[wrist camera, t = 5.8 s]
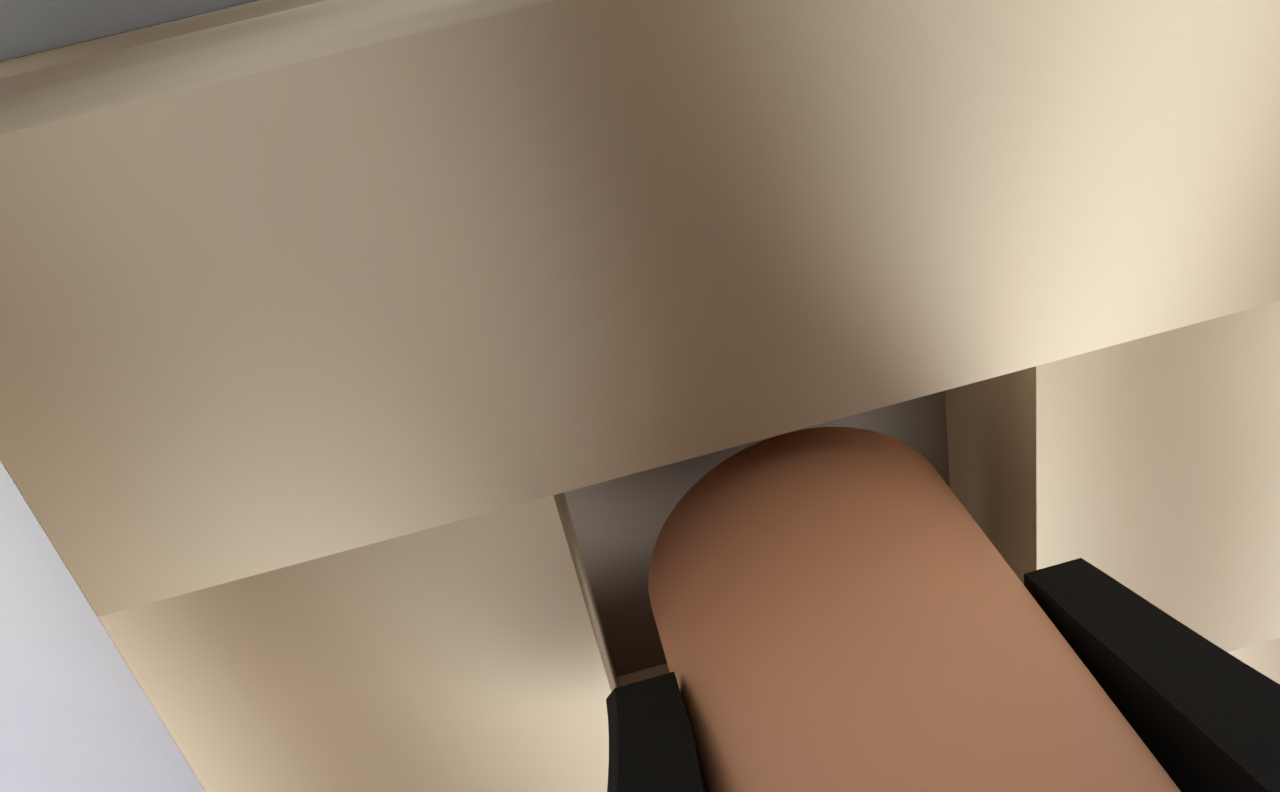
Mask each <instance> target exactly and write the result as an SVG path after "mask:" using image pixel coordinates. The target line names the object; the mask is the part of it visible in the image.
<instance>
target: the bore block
mask: <svg viewBox="0 0 1280 792" xmlns="http://www.w3.org/2000/svg"><path fill="white" fill-rule="evenodd" d="M828 426H829V427H852V428H859V429H866V430H871V431H874V432H878V433H881V434H884V435H888V436H890V437H892V438H894V439H897V440H899V441H901V442H903V443H905V444H907V445H908V446H910V447H911V448H913V449H914V450H916V451H917V452H919V453H920V454H921V455H922V456H923V457H924V458H926V459H927V460H928V461H929V462H930V463H931V464H932V465H933V466H934V468H935V469H936V470H937V472H938V473H939V474H940V476H941V477H942V478H943V479H944V481H945V482H946V483H947V485H948V486H949V487H950V489H951V490H952V491H953V493H954V494H955V495H956V497H957V498H958V499H959V500H960V502H961V503H962V504H963V506H964V507H965V508H966V510H967V511H968V512H969V514H970V515H971V516H972V518H973V519H974V520H975V522H976V523H977V524H978V525H979V527H980V528H981V529H982V531H983V532H984V533H985V535H986V536H987V537H988V539H989V540H990V541H991V543H992V544H993V545H994V546H995V548H996V549H997V550H998V552H999V553H1000V554H1001V556H1002V557H1003V558H1004V560H1005V561H1006V562H1007V564H1008V565H1009V566H1010V567H1011V569H1012V570H1013V571H1014V573H1015V574H1016V575H1017V577H1018V578H1019V579H1020V581H1021V582H1022V583H1023V585H1024V574H1025V573H1028V572H1032V571H1035V570H1039V569H1043V568H1046V567H1050V566H1053V565H1057V564H1061V563H1064V562H1068V561H1071V560H1075V559H1078V558H1082V559H1084V560H1085V561H1087V562H1089V563H1090V564H1092V565H1093V566H1095V567H1096V568H1098V569H1100V570H1101V571H1103V572H1104V573H1106V574H1107V575H1109V576H1110V577H1112V578H1114V579H1115V580H1117V581H1118V582H1120V583H1121V584H1123V585H1124V586H1126V587H1127V588H1129V589H1130V590H1132V591H1133V592H1135V593H1136V594H1138V595H1140V596H1141V597H1143V598H1144V599H1146V600H1147V601H1149V602H1150V603H1152V604H1153V605H1155V606H1156V607H1158V608H1159V609H1161V610H1162V611H1164V612H1165V613H1167V614H1169V615H1170V616H1172V617H1173V618H1175V619H1176V620H1178V621H1179V622H1181V623H1182V624H1184V625H1186V626H1187V627H1189V628H1190V629H1192V630H1193V631H1195V632H1196V633H1198V634H1200V635H1201V636H1203V637H1204V638H1206V639H1207V640H1209V641H1210V642H1212V643H1214V644H1215V645H1217V646H1218V647H1220V648H1221V649H1223V650H1225V651H1226V652H1228V653H1229V654H1231V655H1233V656H1234V657H1236V658H1237V659H1239V660H1241V661H1242V662H1244V663H1245V664H1247V665H1249V666H1250V667H1252V668H1254V669H1255V670H1257V671H1259V672H1260V673H1262V674H1264V675H1265V676H1267V677H1269V678H1270V679H1272V680H1273V681H1275V682H1277V683H1278V684H1280V0H258V1H254V2H250V3H246V4H242V5H238V6H233V7H229V8H225V9H221V10H217V11H212V12H208V13H204V14H200V15H196V16H192V17H187V18H183V19H179V20H175V21H171V22H166V23H162V24H158V25H154V26H150V27H146V28H141V29H137V30H133V31H129V32H125V33H120V34H116V35H112V36H108V37H104V38H100V39H95V40H91V41H87V42H83V43H79V44H74V45H70V46H66V47H62V48H58V49H54V50H49V51H45V52H41V53H37V54H33V55H28V56H24V57H20V58H16V59H12V60H8V61H3V62H0V461H1V462H2V464H3V465H4V467H5V469H6V470H7V472H8V474H9V475H10V477H11V478H12V480H13V482H14V483H15V485H16V486H17V488H18V490H19V491H20V493H21V495H22V496H23V498H24V499H25V501H26V503H27V504H28V506H29V507H30V509H31V511H32V512H33V514H34V515H35V517H36V519H37V520H38V522H39V524H40V525H41V527H42V528H43V530H44V532H45V533H46V535H47V536H48V538H49V540H50V541H51V543H52V545H53V546H54V548H55V549H56V551H57V553H58V554H59V556H60V557H61V559H62V561H63V562H64V564H65V566H66V567H67V569H68V570H69V572H70V574H71V575H72V577H73V578H74V580H75V582H76V583H77V585H78V587H79V588H80V590H81V591H82V593H83V595H84V596H85V598H86V599H87V601H88V603H89V604H90V606H91V608H92V609H93V611H94V612H95V614H96V616H97V617H98V619H99V620H100V622H101V624H102V625H103V627H104V629H105V630H106V632H107V633H108V635H109V637H110V638H111V640H112V641H113V643H114V645H115V646H116V648H117V650H118V651H119V653H120V654H121V656H122V658H123V659H124V661H125V662H126V664H127V666H128V667H129V669H130V671H131V672H132V674H133V675H134V677H135V679H136V680H137V682H138V683H139V685H140V687H141V688H142V690H143V691H144V693H145V695H146V696H147V698H148V700H149V701H150V703H151V704H152V706H153V708H154V709H155V711H156V712H157V714H158V716H159V717H160V719H161V721H162V722H163V724H164V725H165V727H166V729H167V730H168V732H169V733H170V735H171V737H172V738H173V740H174V742H175V743H176V745H177V746H178V748H179V750H180V751H181V753H182V754H183V756H184V758H185V759H186V761H187V763H188V764H189V766H190V767H191V769H192V771H193V772H194V774H195V775H196V777H197V779H198V780H199V782H200V784H201V785H202V787H203V788H204V790H205V792H607V786H608V766H609V730H608V714H607V704H606V699H607V697H608V696H609V695H610V693H611V692H612V691H613V690H614V688H617V687H620V686H624V685H627V684H631V683H634V682H638V681H642V680H645V679H649V678H652V677H656V676H659V675H663V674H667V673H670V671H669V668H668V664H667V661H666V657H665V654H664V650H663V647H662V643H661V640H660V636H659V633H658V629H657V626H656V622H655V618H654V615H653V611H652V608H651V603H650V597H649V591H648V584H649V568H650V562H651V556H652V553H653V550H654V547H655V544H656V540H657V538H658V536H659V534H660V532H661V530H662V527H663V525H664V523H665V521H666V520H667V518H668V517H669V515H670V514H671V512H672V511H673V509H674V508H675V506H676V505H677V503H678V502H679V501H680V500H681V499H682V498H683V496H684V495H685V494H686V493H687V492H688V490H689V489H690V488H691V487H692V486H693V485H694V484H696V483H697V482H698V481H699V480H700V479H701V478H702V477H703V476H704V475H705V474H706V473H708V472H709V471H710V470H712V469H713V468H714V467H716V466H717V465H719V464H720V463H721V462H723V461H724V460H726V459H727V458H729V457H731V456H732V455H734V454H736V453H738V452H739V451H741V450H743V449H745V448H747V447H749V446H752V445H754V444H756V443H758V442H760V441H763V440H765V439H768V438H771V437H775V436H778V435H781V434H784V433H788V432H792V431H797V430H802V429H807V428H818V427H828Z"/></svg>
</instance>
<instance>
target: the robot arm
mask: <svg viewBox="0 0 1280 792" xmlns="http://www.w3.org/2000/svg"><path fill="white" fill-rule="evenodd" d="M1024 586H1025V587H1026V589H1027V590H1028V591H1029V592H1030V594H1031V595H1032V596H1033V598H1034V599H1035V600H1036V602H1037V603H1038V604H1039V606H1040V607H1041V608H1042V610H1043V611H1044V612H1045V613H1046V615H1047V616H1048V617H1049V619H1050V620H1051V621H1052V623H1053V624H1054V625H1055V627H1056V628H1057V629H1058V631H1059V632H1060V633H1061V635H1062V636H1063V637H1064V638H1065V640H1066V641H1067V642H1068V644H1069V645H1070V646H1071V648H1072V649H1073V650H1074V652H1075V653H1076V654H1077V656H1078V657H1079V658H1080V659H1081V661H1082V662H1083V663H1084V665H1085V666H1086V667H1087V669H1088V670H1089V671H1090V673H1091V674H1092V675H1093V677H1094V678H1095V679H1096V681H1097V682H1098V683H1099V684H1100V686H1101V687H1102V688H1103V690H1104V691H1105V692H1106V694H1107V695H1108V696H1109V698H1110V699H1111V700H1112V702H1113V703H1114V704H1115V705H1116V707H1117V708H1118V709H1119V711H1120V712H1121V713H1122V715H1123V716H1124V717H1125V719H1126V720H1127V721H1128V723H1129V724H1130V725H1131V726H1132V728H1133V729H1134V730H1135V732H1136V733H1137V734H1138V736H1139V737H1140V738H1141V740H1142V741H1143V742H1144V744H1145V745H1146V746H1147V748H1148V749H1149V750H1150V751H1151V753H1152V754H1153V755H1154V757H1155V758H1156V759H1157V761H1158V762H1159V763H1160V765H1161V766H1162V767H1163V769H1164V770H1165V771H1166V772H1167V774H1168V775H1169V776H1170V778H1171V779H1172V780H1173V782H1174V783H1175V784H1176V786H1177V787H1178V788H1179V790H1180V791H1181V792H1280V684H1278V683H1277V682H1275V681H1273V680H1272V679H1270V678H1269V677H1267V676H1265V675H1264V674H1262V673H1260V672H1259V671H1257V670H1255V669H1254V668H1252V667H1250V666H1249V665H1247V664H1245V663H1244V662H1242V661H1241V660H1239V659H1237V658H1236V657H1234V656H1233V655H1231V654H1229V653H1228V652H1226V651H1225V650H1223V649H1221V648H1220V647H1218V646H1217V645H1215V644H1214V643H1212V642H1210V641H1209V640H1207V639H1206V638H1204V637H1203V636H1201V635H1200V634H1198V633H1196V632H1195V631H1193V630H1192V629H1190V628H1189V627H1187V626H1186V625H1184V624H1182V623H1181V622H1179V621H1178V620H1176V619H1175V618H1173V617H1172V616H1170V615H1169V614H1167V613H1165V612H1164V611H1162V610H1161V609H1159V608H1158V607H1156V606H1155V605H1153V604H1152V603H1150V602H1149V601H1147V600H1146V599H1144V598H1143V597H1141V596H1140V595H1138V594H1136V593H1135V592H1133V591H1132V590H1130V589H1129V588H1127V587H1126V586H1124V585H1123V584H1121V583H1120V582H1118V581H1117V580H1115V579H1114V578H1112V577H1110V576H1109V575H1107V574H1106V573H1104V572H1103V571H1101V570H1100V569H1098V568H1096V567H1095V566H1093V565H1092V564H1090V563H1089V562H1087V561H1085V560H1084V559H1082V558H1078V559H1075V560H1071V561H1068V562H1064V563H1061V564H1057V565H1053V566H1050V567H1046V568H1043V569H1039V570H1035V571H1032V572H1028V573H1025V574H1024ZM606 704H607V714H608V730H609V766H608V786H607V792H706V788H705V783H704V778H703V773H702V769H701V764H700V760H699V756H698V752H697V748H696V744H695V740H694V736H693V732H692V729H691V725H690V722H689V719H688V715H687V712H686V709H685V705H684V702H683V699H682V696H681V692H680V689H679V686H678V683H677V679H676V676H675V673H674V672H670V673H667V674H663V675H659V676H656V677H652V678H649V679H645V680H642V681H638V682H634V683H631V684H627V685H624V686H620V687H617V688H614V690H613V691H612V692H611V693H610V695H609V696H608V697H607V699H606Z"/></svg>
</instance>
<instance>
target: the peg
mask: <svg viewBox="0 0 1280 792" xmlns="http://www.w3.org/2000/svg"><path fill="white" fill-rule="evenodd" d="M648 591H649V597H650V603H651V608H652V611H653V615H654V618H655V622H656V626H657V629H658V633H659V636H660V640H661V643H662V647H663V650H664V654H665V657H666V661H667V664H668V668H669V671H670V672H674V673H675V676H676V679H677V683H678V686H679V689H680V692H681V696H682V699H683V702H684V705H685V709H686V712H687V715H688V719H689V722H690V725H691V729H692V732H693V736H694V740H695V744H696V748H697V752H698V756H699V760H700V764H701V769H702V773H703V778H704V783H705V788H706V792H1181V791H1180V790H1179V788H1178V787H1177V786H1176V784H1175V783H1174V782H1173V780H1172V779H1171V778H1170V776H1169V775H1168V774H1167V772H1166V771H1165V770H1164V769H1163V767H1162V766H1161V765H1160V763H1159V762H1158V761H1157V759H1156V758H1155V757H1154V755H1153V754H1152V753H1151V751H1150V750H1149V749H1148V748H1147V746H1146V745H1145V744H1144V742H1143V741H1142V740H1141V738H1140V737H1139V736H1138V734H1137V733H1136V732H1135V730H1134V729H1133V728H1132V726H1131V725H1130V724H1129V723H1128V721H1127V720H1126V719H1125V717H1124V716H1123V715H1122V713H1121V712H1120V711H1119V709H1118V708H1117V707H1116V705H1115V704H1114V703H1113V702H1112V700H1111V699H1110V698H1109V696H1108V695H1107V694H1106V692H1105V691H1104V690H1103V688H1102V687H1101V686H1100V684H1099V683H1098V682H1097V681H1096V679H1095V678H1094V677H1093V675H1092V674H1091V673H1090V671H1089V670H1088V669H1087V667H1086V666H1085V665H1084V663H1083V662H1082V661H1081V659H1080V658H1079V657H1078V656H1077V654H1076V653H1075V652H1074V650H1073V649H1072V648H1071V646H1070V645H1069V644H1068V642H1067V641H1066V640H1065V638H1064V637H1063V636H1062V635H1061V633H1060V632H1059V631H1058V629H1057V628H1056V627H1055V625H1054V624H1053V623H1052V621H1051V620H1050V619H1049V617H1048V616H1047V615H1046V613H1045V612H1044V611H1043V610H1042V608H1041V607H1040V606H1039V604H1038V603H1037V602H1036V600H1035V599H1034V598H1033V596H1032V595H1031V594H1030V592H1029V591H1028V590H1027V589H1026V587H1025V586H1024V585H1023V583H1022V582H1021V581H1020V579H1019V578H1018V577H1017V575H1016V574H1015V573H1014V571H1013V570H1012V569H1011V567H1010V566H1009V565H1008V564H1007V562H1006V561H1005V560H1004V558H1003V557H1002V556H1001V554H1000V553H999V552H998V550H997V549H996V548H995V546H994V545H993V544H992V543H991V541H990V540H989V539H988V537H987V536H986V535H985V533H984V532H983V531H982V529H981V528H980V527H979V525H978V524H977V523H976V522H975V520H974V519H973V518H972V516H971V515H970V514H969V512H968V511H967V510H966V508H965V507H964V506H963V504H962V503H961V502H960V500H959V499H958V498H957V497H956V495H955V494H954V493H953V491H952V490H951V489H950V487H949V486H948V485H947V483H946V482H945V481H944V479H943V478H942V477H941V476H940V474H939V473H938V472H937V470H936V469H935V468H934V466H933V465H932V464H931V463H930V462H929V461H928V460H927V459H926V458H924V457H923V456H922V455H921V454H920V453H919V452H917V451H916V450H914V449H913V448H911V447H910V446H908V445H907V444H905V443H903V442H901V441H899V440H897V439H894V438H892V437H890V436H888V435H884V434H881V433H878V432H874V431H871V430H866V429H859V428H852V427H829V426H828V427H818V428H807V429H802V430H797V431H792V432H788V433H784V434H781V435H778V436H775V437H771V438H768V439H765V440H763V441H760V442H758V443H756V444H754V445H752V446H749V447H747V448H745V449H743V450H741V451H739V452H738V453H736V454H734V455H732V456H731V457H729V458H727V459H726V460H724V461H723V462H721V463H720V464H719V465H717V466H716V467H714V468H713V469H712V470H710V471H709V472H708V473H706V474H705V475H704V476H703V477H702V478H701V479H700V480H699V481H698V482H697V483H696V484H694V485H693V486H692V487H691V488H690V489H689V490H688V492H687V493H686V494H685V495H684V496H683V498H682V499H681V500H680V501H679V502H678V503H677V505H676V506H675V508H674V509H673V511H672V512H671V514H670V515H669V517H668V518H667V520H666V521H665V523H664V525H663V527H662V530H661V532H660V534H659V536H658V538H657V540H656V544H655V547H654V550H653V553H652V556H651V562H650V568H649V584H648Z"/></svg>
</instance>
